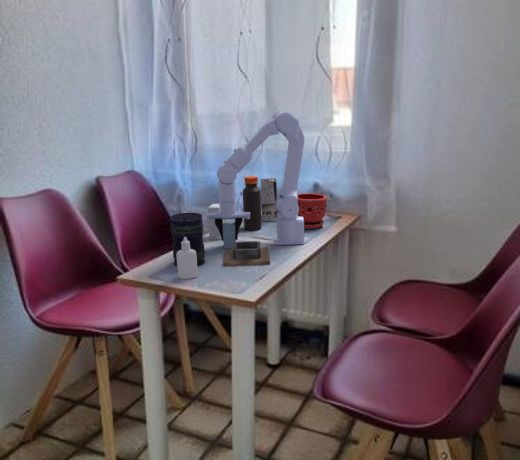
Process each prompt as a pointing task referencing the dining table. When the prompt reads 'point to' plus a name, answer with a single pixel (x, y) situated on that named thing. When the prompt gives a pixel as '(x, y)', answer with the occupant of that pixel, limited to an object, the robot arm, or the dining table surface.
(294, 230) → the robot arm
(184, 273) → the eye dropper bottle
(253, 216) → the vinegar
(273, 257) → the dining table surface
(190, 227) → the storage jar
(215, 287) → the dining table surface
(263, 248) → the socket
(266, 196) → the coffee box
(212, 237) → the skincare box
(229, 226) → the peg
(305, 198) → the plant pot
